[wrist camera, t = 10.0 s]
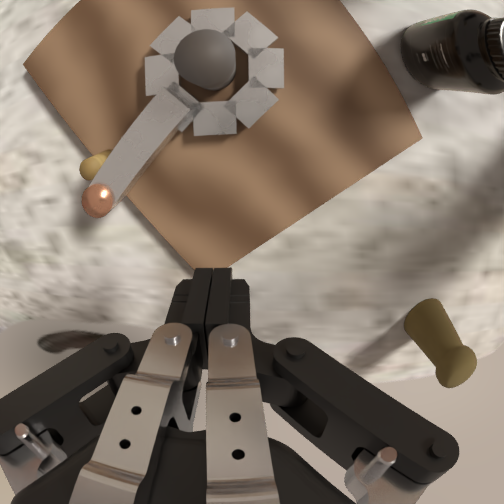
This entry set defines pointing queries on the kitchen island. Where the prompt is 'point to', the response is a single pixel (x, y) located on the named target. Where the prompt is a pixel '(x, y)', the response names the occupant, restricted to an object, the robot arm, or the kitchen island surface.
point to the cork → (440, 342)
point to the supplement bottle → (457, 52)
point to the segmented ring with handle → (187, 102)
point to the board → (247, 139)
